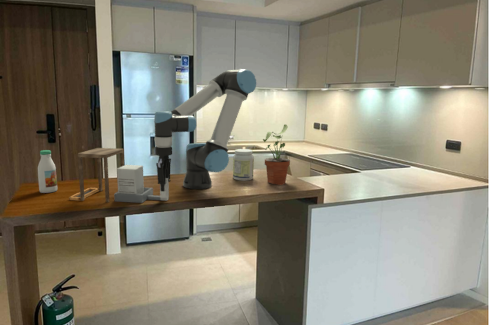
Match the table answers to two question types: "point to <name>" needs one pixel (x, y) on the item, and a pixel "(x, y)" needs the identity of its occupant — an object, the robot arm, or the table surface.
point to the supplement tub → (243, 164)
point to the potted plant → (277, 162)
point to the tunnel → (98, 154)
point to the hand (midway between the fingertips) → (164, 196)
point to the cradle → (143, 197)
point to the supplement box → (130, 179)
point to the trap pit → (86, 193)
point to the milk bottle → (47, 173)
